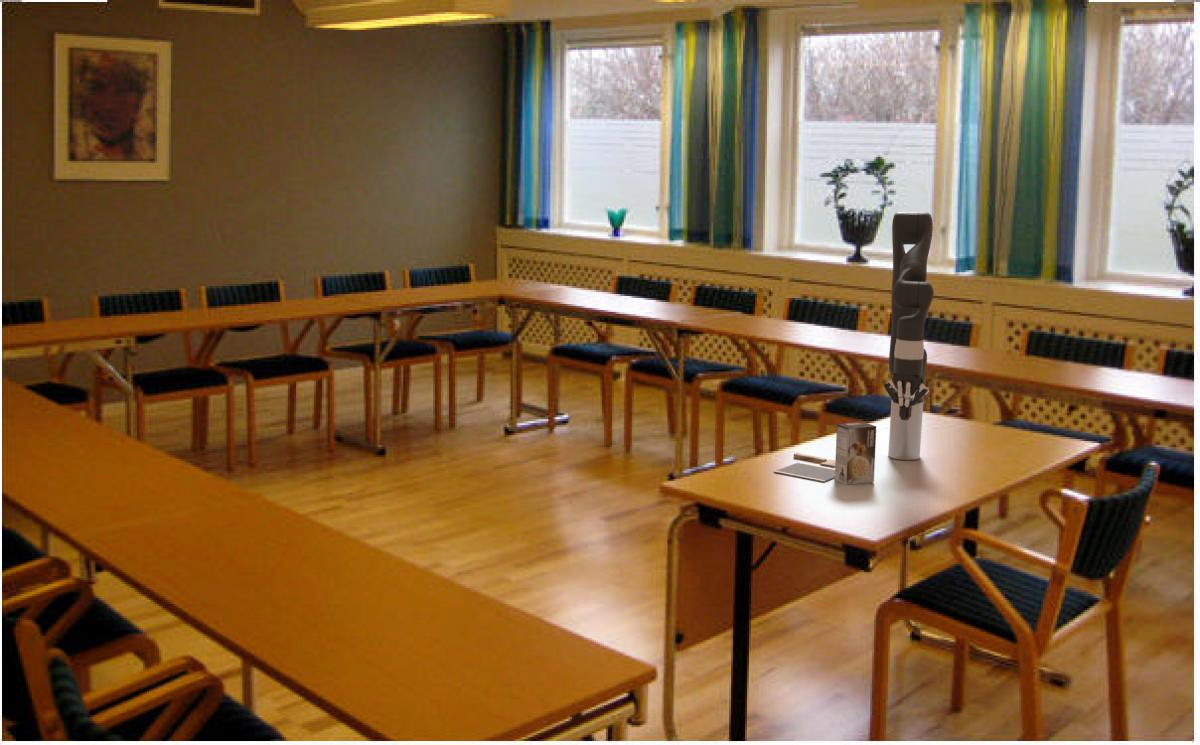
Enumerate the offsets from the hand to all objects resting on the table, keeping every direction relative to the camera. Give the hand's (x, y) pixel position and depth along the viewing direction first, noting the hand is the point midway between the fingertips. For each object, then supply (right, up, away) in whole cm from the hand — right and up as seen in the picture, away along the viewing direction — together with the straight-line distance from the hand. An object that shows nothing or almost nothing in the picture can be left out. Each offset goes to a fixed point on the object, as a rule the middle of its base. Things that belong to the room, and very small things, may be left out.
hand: (904, 419), depth 364 cm
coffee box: (-11, -18, +12) cm, 24 cm away
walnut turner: (-17, -14, +32) cm, 39 cm away
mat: (-22, -16, +20) cm, 34 cm away
